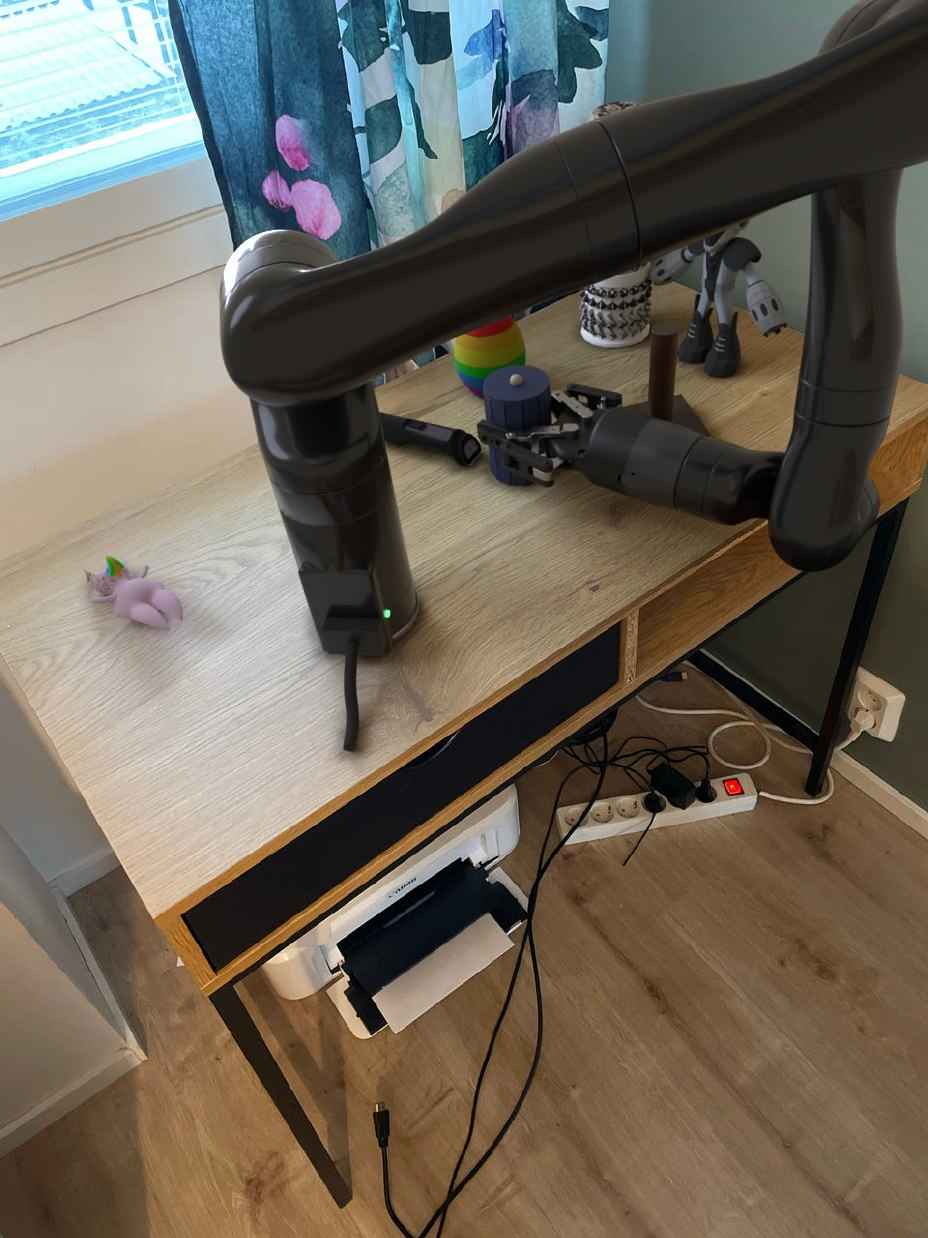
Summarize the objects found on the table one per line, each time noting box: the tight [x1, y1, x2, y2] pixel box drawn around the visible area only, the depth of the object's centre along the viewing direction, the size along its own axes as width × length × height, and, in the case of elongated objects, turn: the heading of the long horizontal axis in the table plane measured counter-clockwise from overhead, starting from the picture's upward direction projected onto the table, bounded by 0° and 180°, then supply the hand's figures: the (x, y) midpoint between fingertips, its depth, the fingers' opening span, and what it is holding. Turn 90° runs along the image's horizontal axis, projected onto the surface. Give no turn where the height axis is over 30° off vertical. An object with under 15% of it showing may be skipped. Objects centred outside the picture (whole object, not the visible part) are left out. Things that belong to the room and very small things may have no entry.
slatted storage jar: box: [483, 365, 553, 487], centre depth 90 cm, size 6×6×11 cm
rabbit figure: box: [83, 555, 184, 631], centre depth 82 cm, size 6×6×15 cm
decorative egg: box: [453, 315, 527, 397], centre depth 102 cm, size 8×8×10 cm
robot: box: [648, 219, 788, 379], centre depth 97 cm, size 20×5×20 cm, turn 34°
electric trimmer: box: [379, 411, 482, 467], centre depth 98 cm, size 4×16×3 cm, turn 58°
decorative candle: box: [579, 100, 653, 349], centre depth 102 cm, size 9×9×25 cm
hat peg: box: [622, 321, 711, 437], centre depth 91 cm, size 8×8×12 cm
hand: (500, 411), depth 90 cm, fingers closed on slatted storage jar, 6 cm apart
